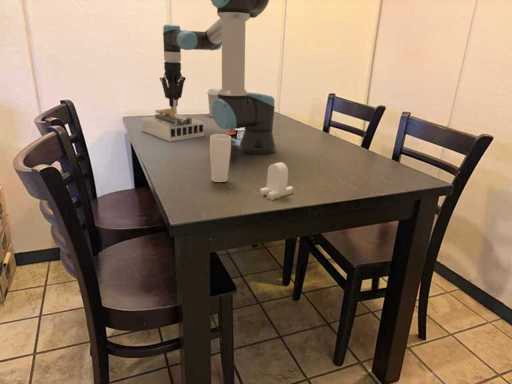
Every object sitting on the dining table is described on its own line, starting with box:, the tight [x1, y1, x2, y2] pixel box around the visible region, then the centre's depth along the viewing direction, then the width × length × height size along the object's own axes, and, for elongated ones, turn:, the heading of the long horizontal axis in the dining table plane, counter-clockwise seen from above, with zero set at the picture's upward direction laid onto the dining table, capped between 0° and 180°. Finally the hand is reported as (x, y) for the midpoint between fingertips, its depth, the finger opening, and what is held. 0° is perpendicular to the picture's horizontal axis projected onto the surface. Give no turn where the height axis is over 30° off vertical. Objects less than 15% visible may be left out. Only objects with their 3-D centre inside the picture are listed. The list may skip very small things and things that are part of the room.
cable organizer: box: [259, 161, 294, 197], centre depth 117 cm, size 5×10×10 cm, turn 133°
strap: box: [154, 113, 188, 125], centre depth 176 cm, size 21×4×2 cm, turn 45°
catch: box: [155, 108, 175, 117], centre depth 181 cm, size 4×8×3 cm, turn 135°
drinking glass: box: [209, 133, 232, 183], centre depth 124 cm, size 7×7×15 cm
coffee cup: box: [206, 88, 222, 118], centre depth 219 cm, size 10×10×15 cm
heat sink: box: [141, 113, 205, 143], centre depth 178 cm, size 22×19×9 cm
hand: (173, 113), depth 185 cm, fingers closed
